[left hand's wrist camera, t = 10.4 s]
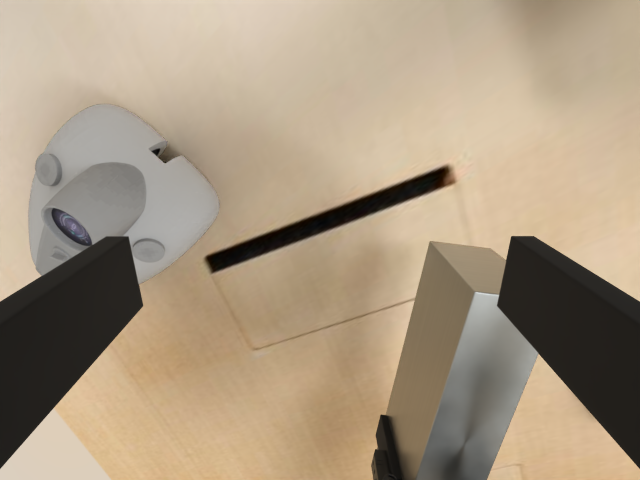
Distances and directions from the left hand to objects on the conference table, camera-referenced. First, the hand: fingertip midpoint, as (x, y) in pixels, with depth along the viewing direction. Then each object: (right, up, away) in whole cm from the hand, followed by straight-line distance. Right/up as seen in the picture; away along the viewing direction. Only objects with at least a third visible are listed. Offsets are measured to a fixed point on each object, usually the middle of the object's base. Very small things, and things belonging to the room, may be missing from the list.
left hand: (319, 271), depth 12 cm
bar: (+10, -10, +21) cm, 26 cm away
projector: (-23, +4, +30) cm, 38 cm away
